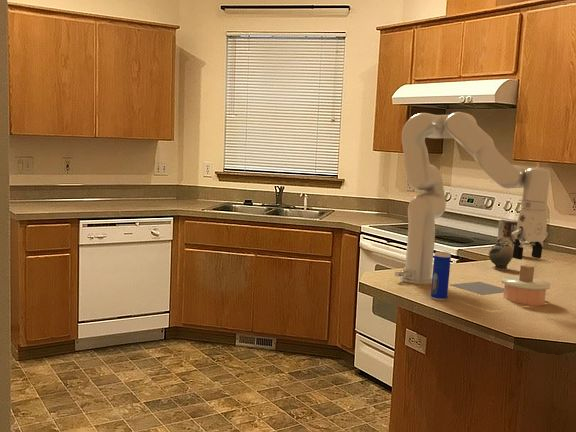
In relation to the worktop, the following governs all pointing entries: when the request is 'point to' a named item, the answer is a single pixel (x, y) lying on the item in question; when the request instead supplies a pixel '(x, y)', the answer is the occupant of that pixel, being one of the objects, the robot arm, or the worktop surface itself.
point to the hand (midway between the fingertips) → (526, 258)
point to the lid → (526, 280)
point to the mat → (480, 288)
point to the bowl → (524, 295)
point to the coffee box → (506, 231)
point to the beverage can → (440, 275)
